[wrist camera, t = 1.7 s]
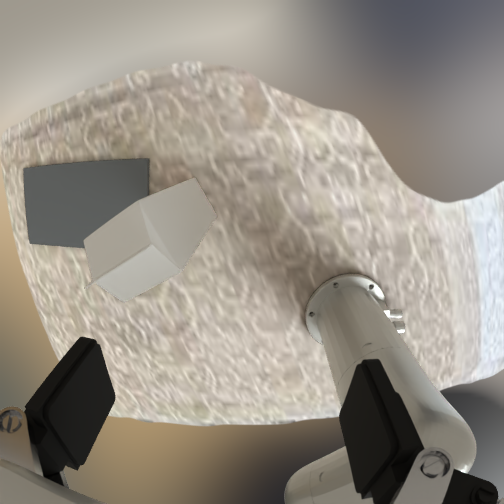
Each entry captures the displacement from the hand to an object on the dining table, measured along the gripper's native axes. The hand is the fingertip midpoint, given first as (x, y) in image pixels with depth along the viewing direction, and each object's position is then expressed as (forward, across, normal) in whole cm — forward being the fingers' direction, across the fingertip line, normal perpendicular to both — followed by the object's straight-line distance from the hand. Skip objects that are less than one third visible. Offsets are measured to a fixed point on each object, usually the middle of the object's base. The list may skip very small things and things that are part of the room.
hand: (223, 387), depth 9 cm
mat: (+30, +26, -1) cm, 40 cm away
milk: (+30, +8, 0) cm, 32 cm away
